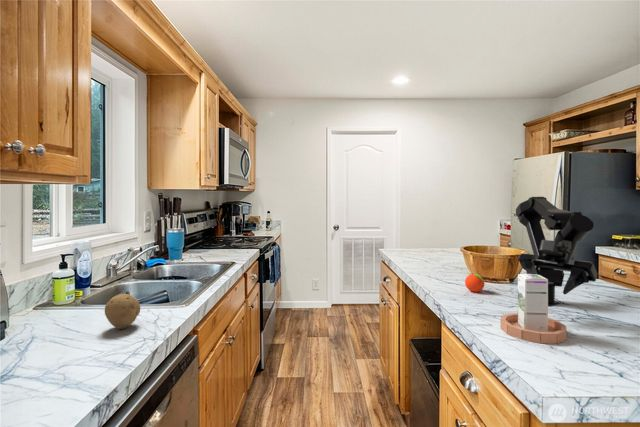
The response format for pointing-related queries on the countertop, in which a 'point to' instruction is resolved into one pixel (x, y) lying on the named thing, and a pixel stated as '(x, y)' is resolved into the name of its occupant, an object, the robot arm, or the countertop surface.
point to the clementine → (474, 282)
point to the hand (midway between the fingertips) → (545, 289)
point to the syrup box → (533, 302)
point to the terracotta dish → (553, 336)
